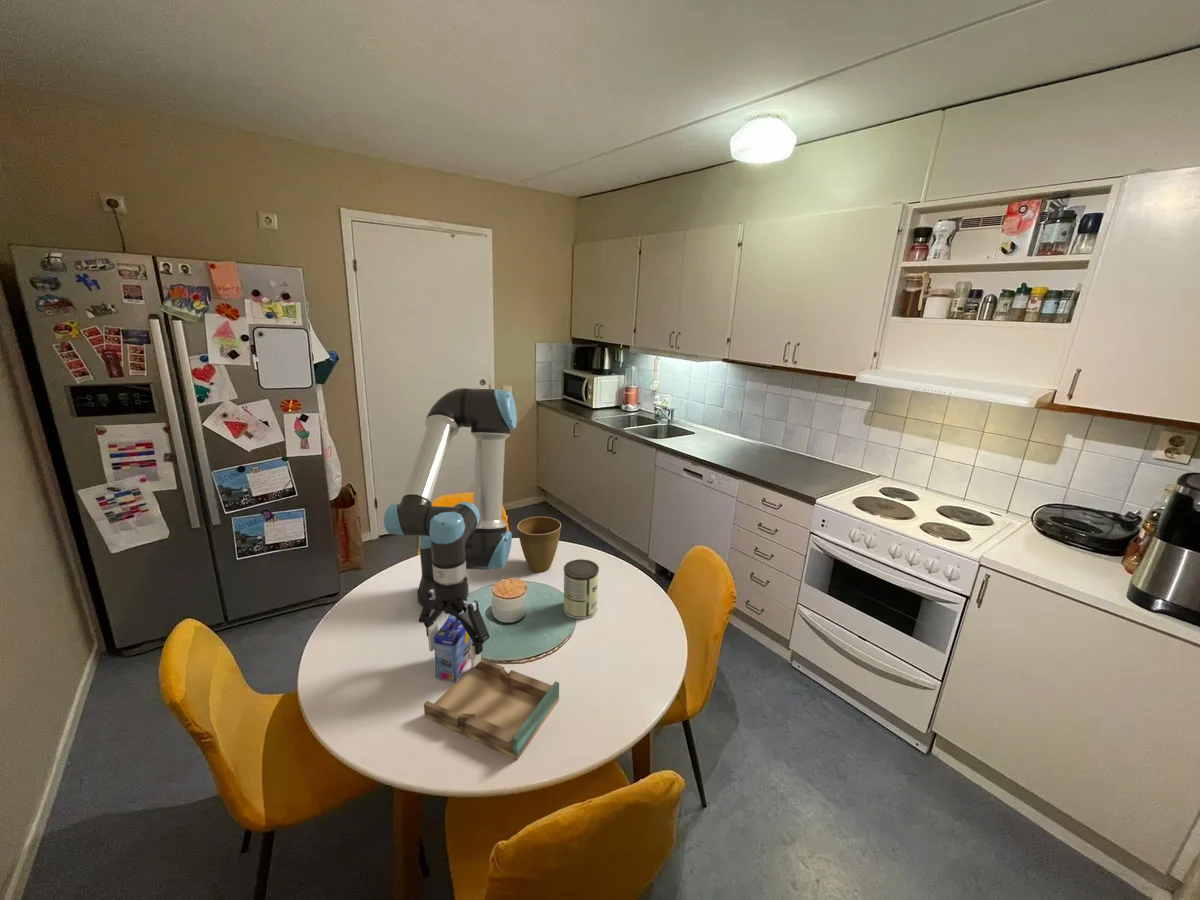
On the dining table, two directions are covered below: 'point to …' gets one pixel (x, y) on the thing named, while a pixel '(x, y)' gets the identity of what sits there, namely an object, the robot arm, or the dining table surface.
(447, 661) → the ink cartridge box
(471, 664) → the robot arm
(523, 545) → the plant pot
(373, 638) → the dining table surface
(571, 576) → the coffee can
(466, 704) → the channel
